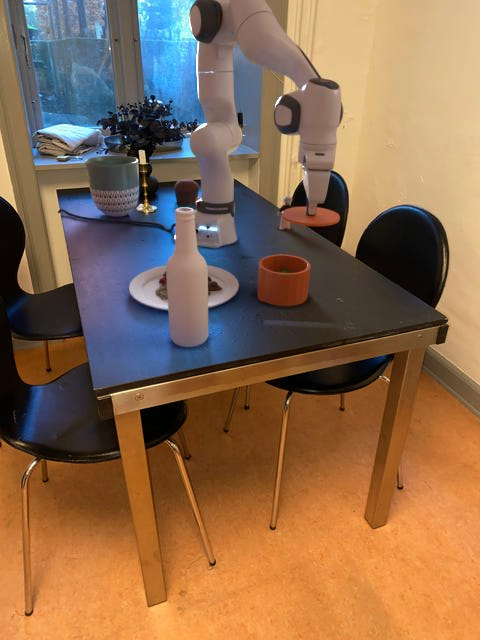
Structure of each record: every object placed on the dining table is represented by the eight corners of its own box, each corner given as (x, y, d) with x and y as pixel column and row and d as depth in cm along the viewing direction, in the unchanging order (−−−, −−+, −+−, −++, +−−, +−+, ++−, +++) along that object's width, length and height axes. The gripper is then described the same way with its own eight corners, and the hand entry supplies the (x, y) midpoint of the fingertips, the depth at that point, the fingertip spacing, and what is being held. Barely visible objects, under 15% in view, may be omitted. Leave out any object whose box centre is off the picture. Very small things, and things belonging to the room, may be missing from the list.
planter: (117, 225, 177) (111, 167, 167) (81, 216, 186) (73, 161, 175) (152, 213, 192) (148, 159, 181) (117, 205, 201) (111, 153, 190)
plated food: (195, 328, 111) (195, 315, 110) (105, 296, 125) (104, 285, 123) (258, 284, 134) (259, 273, 132) (176, 261, 147) (176, 251, 146)
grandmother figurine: (280, 231, 176) (282, 197, 169) (274, 228, 179) (276, 195, 172) (297, 228, 179) (299, 195, 173) (291, 225, 182) (294, 193, 176)
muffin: (169, 204, 204) (168, 181, 199) (179, 198, 213) (178, 176, 208) (194, 207, 201) (194, 183, 196) (204, 200, 210) (203, 178, 205)
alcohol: (212, 345, 105) (211, 214, 90) (173, 350, 102) (166, 217, 88) (203, 326, 112) (201, 202, 97) (167, 331, 110) (159, 205, 95)
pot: (256, 306, 122) (258, 273, 117) (257, 284, 134) (259, 253, 129) (308, 308, 121) (312, 275, 117) (305, 286, 133) (308, 255, 128)
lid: (282, 227, 113) (284, 204, 110) (280, 210, 126) (282, 188, 123) (343, 230, 113) (346, 206, 110) (335, 212, 126) (338, 190, 123)
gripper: (300, 147, 121) (296, 200, 128) (306, 162, 103) (301, 223, 110) (325, 148, 121) (319, 201, 127) (335, 163, 103) (327, 224, 110)
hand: (310, 211), depth 118 cm, fingers closed on lid, 2 cm apart
